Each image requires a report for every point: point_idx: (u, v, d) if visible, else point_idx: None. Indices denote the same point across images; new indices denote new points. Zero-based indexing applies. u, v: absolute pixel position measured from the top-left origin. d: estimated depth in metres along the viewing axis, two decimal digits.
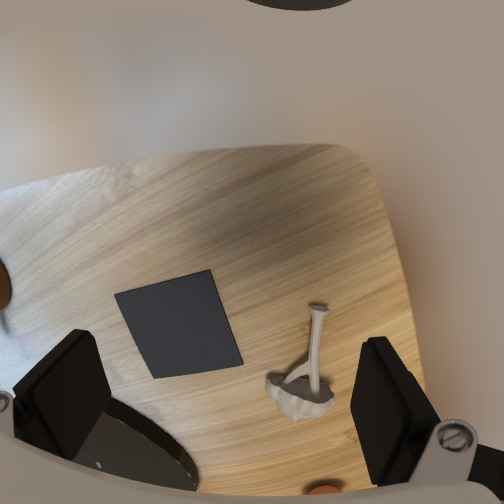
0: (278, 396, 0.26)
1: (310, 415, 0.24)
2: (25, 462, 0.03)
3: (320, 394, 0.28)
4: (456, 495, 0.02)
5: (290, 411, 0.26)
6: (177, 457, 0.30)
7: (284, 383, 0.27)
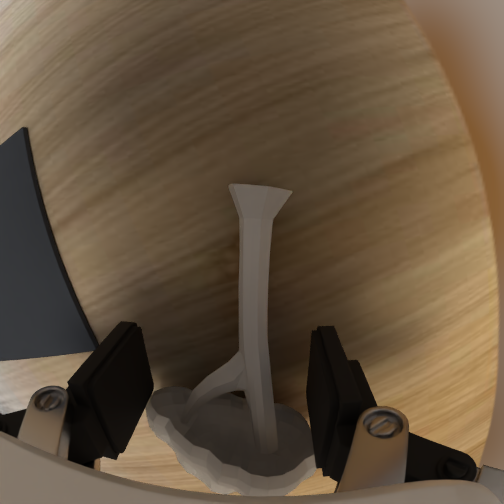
0: (169, 440, 0.09)
1: None
2: (25, 462, 0.03)
3: (288, 434, 0.11)
4: (456, 495, 0.02)
5: (202, 476, 0.09)
6: None
7: (187, 408, 0.10)
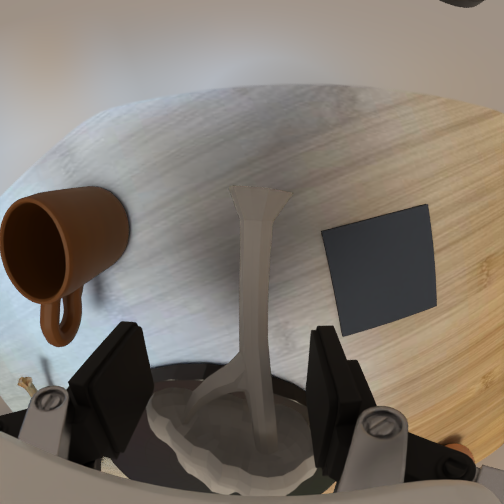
0: (170, 440, 0.09)
1: None
2: (25, 462, 0.03)
3: (289, 435, 0.11)
4: (456, 495, 0.02)
5: (203, 476, 0.09)
6: None
7: (187, 409, 0.10)
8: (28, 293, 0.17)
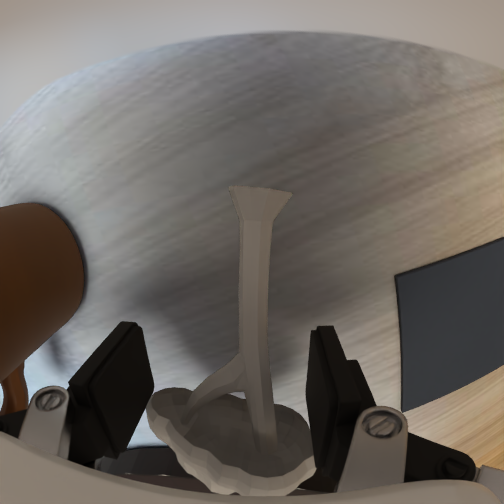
0: (170, 440, 0.09)
1: None
2: (25, 462, 0.03)
3: (288, 435, 0.11)
4: (456, 495, 0.02)
5: (202, 476, 0.09)
6: None
7: (187, 409, 0.10)
8: None
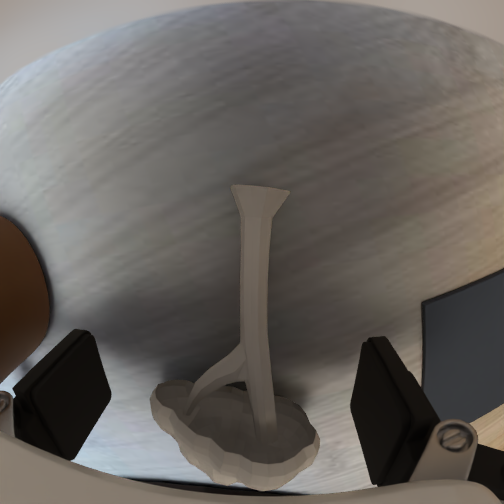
0: (173, 430, 0.10)
1: (249, 486, 0.08)
2: (25, 462, 0.03)
3: (288, 426, 0.12)
4: (456, 495, 0.02)
5: (205, 466, 0.09)
6: None
7: (190, 399, 0.11)
8: None
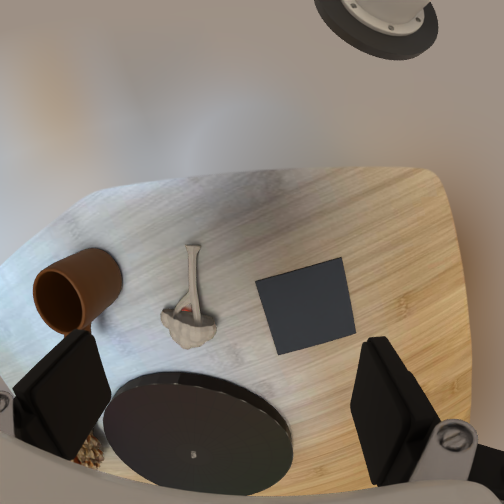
0: (167, 323, 0.33)
1: (190, 339, 0.31)
2: (25, 462, 0.03)
3: None
4: (456, 495, 0.02)
5: (177, 336, 0.32)
6: (284, 429, 0.37)
7: (174, 313, 0.34)
8: (55, 327, 0.27)
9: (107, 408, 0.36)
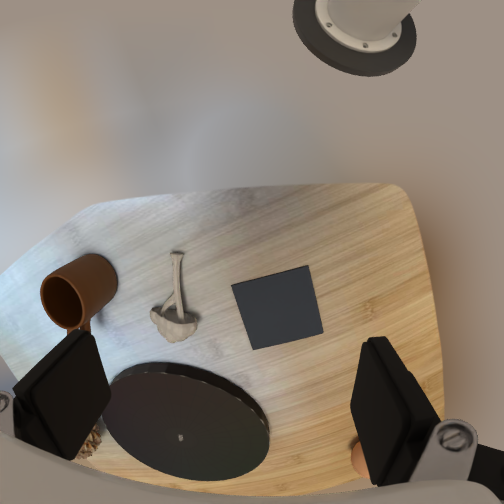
0: (155, 320, 0.38)
1: (174, 334, 0.36)
2: (25, 462, 0.03)
3: None
4: (456, 495, 0.02)
5: (164, 332, 0.37)
6: (260, 417, 0.42)
7: (161, 311, 0.38)
8: (60, 323, 0.32)
9: None
